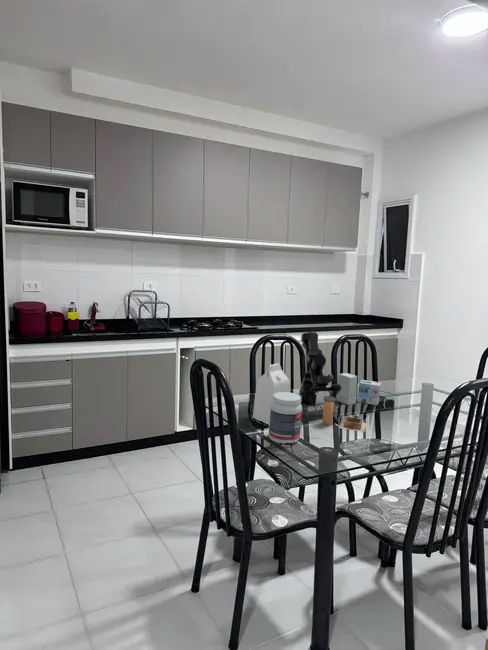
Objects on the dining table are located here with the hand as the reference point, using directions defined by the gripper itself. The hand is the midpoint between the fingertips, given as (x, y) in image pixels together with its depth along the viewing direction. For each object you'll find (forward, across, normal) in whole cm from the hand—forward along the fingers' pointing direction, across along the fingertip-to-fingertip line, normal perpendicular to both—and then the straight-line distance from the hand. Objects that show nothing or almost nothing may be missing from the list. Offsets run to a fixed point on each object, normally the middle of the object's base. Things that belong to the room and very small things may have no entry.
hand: (324, 406), depth 207 cm
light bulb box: (-12, +36, +24) cm, 45 cm away
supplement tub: (+16, -24, -6) cm, 29 cm away
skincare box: (-12, +24, +24) cm, 36 cm away
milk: (+2, -23, +9) cm, 25 cm away
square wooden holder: (+11, +11, 0) cm, 15 cm away
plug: (+9, 0, +2) cm, 9 cm away
